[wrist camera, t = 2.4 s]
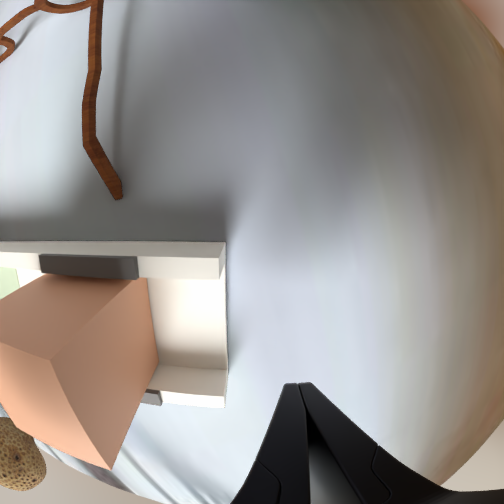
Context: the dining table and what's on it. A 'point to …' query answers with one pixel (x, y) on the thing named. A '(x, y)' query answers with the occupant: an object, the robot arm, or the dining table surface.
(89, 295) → the block
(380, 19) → the dining table surface
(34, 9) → the glasses
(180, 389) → the chute
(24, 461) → the natural sponge
